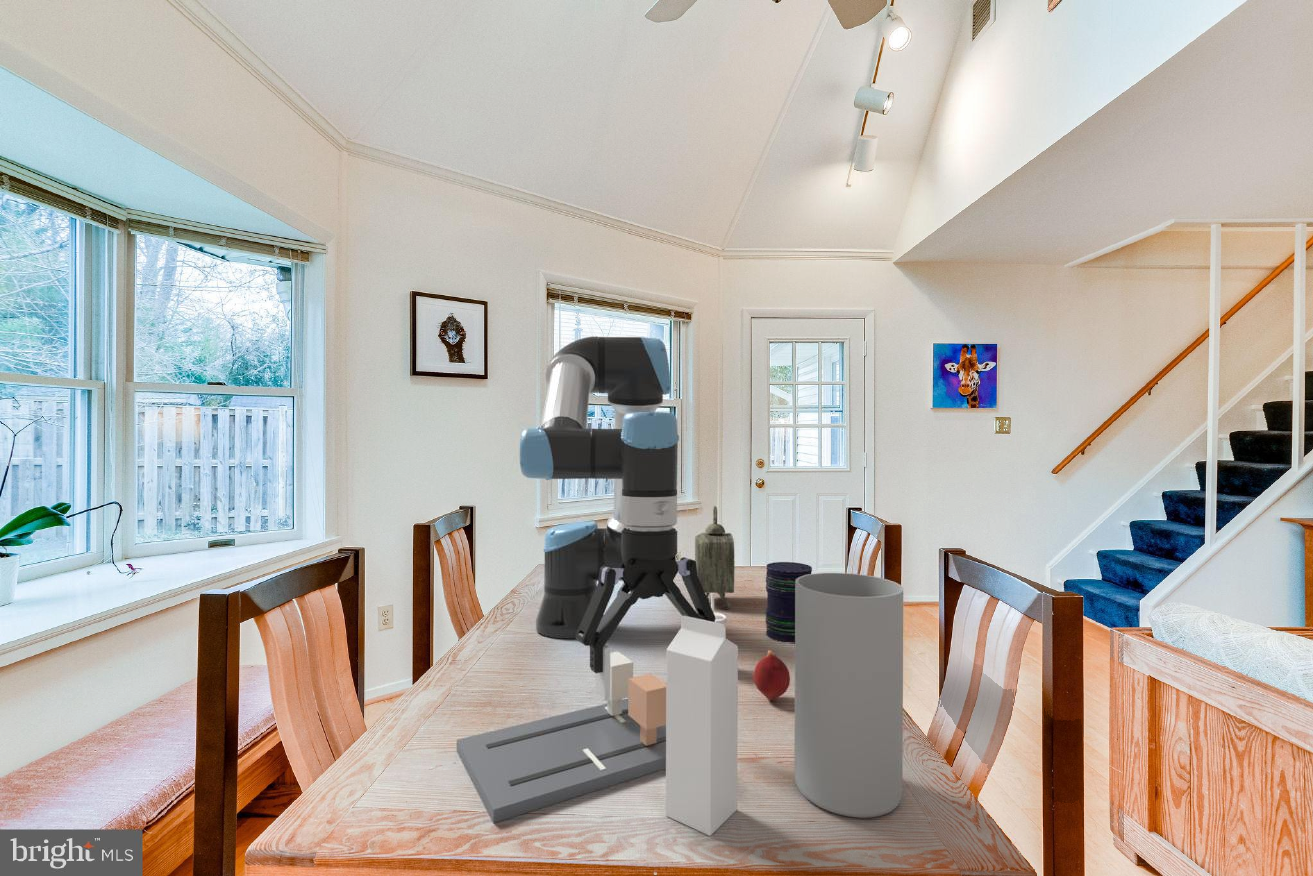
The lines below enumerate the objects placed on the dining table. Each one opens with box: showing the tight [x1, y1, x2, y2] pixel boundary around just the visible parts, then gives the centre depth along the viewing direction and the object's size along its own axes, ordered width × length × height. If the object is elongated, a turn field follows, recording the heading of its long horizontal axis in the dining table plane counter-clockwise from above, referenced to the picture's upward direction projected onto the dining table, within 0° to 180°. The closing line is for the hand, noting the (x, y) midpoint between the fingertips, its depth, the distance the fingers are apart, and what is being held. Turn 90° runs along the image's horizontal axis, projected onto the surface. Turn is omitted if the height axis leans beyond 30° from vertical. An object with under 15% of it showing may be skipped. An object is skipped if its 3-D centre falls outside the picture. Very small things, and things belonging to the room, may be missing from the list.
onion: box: [753, 650, 791, 701], centre depth 100 cm, size 6×6×8 cm
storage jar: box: [765, 561, 813, 644], centre depth 132 cm, size 10×10×15 cm
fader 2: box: [627, 673, 666, 746], centre depth 82 cm, size 5×4×8 cm
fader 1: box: [606, 651, 634, 716], centre depth 91 cm, size 5×4×8 cm
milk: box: [665, 615, 739, 837], centre depth 70 cm, size 6×6×22 cm
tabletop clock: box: [694, 505, 735, 610], centre depth 158 cm, size 14×9×25 cm, turn 179°
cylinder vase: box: [793, 572, 904, 819], centre depth 74 cm, size 12×12×25 cm
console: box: [456, 698, 666, 824], centre depth 82 cm, size 18×28×2 cm, turn 121°
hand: (648, 686), depth 82 cm, fingers open, 13 cm apart
